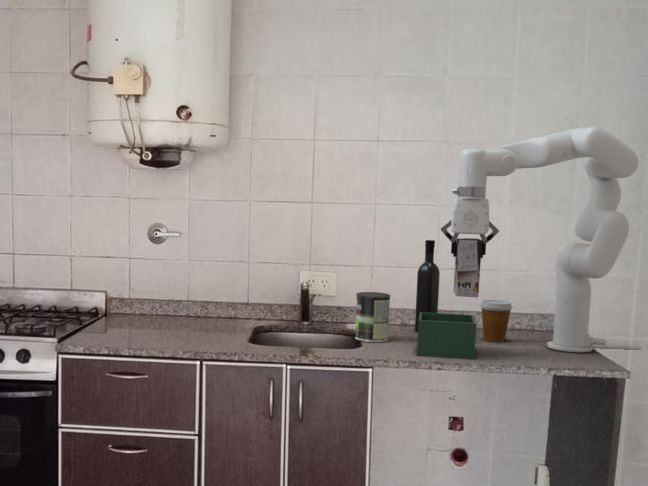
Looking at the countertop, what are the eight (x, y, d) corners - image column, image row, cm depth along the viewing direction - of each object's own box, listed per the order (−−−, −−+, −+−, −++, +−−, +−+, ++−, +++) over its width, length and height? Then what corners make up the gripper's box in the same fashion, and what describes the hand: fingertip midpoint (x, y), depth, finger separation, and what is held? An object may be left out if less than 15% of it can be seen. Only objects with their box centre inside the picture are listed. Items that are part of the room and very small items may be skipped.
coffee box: (479, 297, 227) (482, 240, 225) (455, 296, 229) (458, 239, 227) (475, 293, 236) (479, 238, 234) (452, 292, 238) (455, 237, 236)
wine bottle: (413, 331, 268) (417, 240, 265) (423, 329, 272) (427, 239, 268) (428, 333, 264) (432, 241, 260) (438, 331, 268) (442, 240, 264)
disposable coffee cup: (476, 341, 253) (478, 302, 251) (480, 336, 262) (482, 299, 260) (508, 344, 249) (510, 305, 247) (512, 338, 257) (514, 301, 256)
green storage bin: (472, 348, 241) (474, 315, 240) (474, 359, 226) (476, 323, 225) (418, 344, 245) (419, 312, 244) (417, 355, 230) (418, 320, 229)
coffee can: (355, 341, 248) (357, 296, 246) (354, 335, 258) (355, 291, 257) (390, 343, 247) (392, 297, 245) (387, 336, 257) (388, 292, 256)
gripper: (439, 192, 227) (436, 256, 230) (505, 194, 223) (501, 259, 226) (439, 192, 235) (436, 254, 237) (502, 194, 231) (498, 257, 233)
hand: (467, 256), depth 231 cm, fingers closed on coffee box, 6 cm apart
